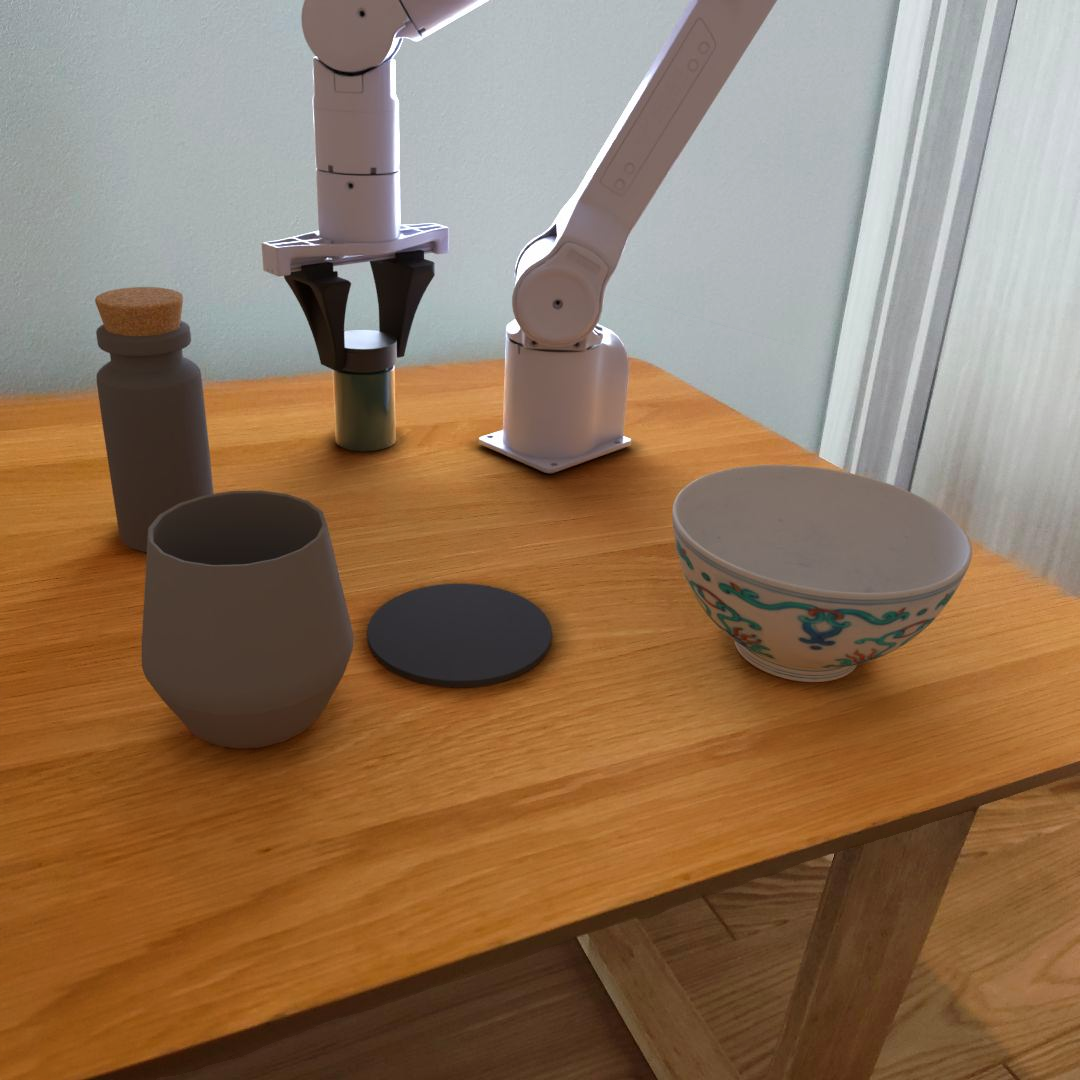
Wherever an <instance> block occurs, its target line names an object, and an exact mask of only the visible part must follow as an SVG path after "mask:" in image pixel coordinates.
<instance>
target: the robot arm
mask: <svg viewBox="0 0 1080 1080" xmlns="http://www.w3.org/2000/svg"><path fill="white" fill-rule="evenodd" d="M777 1H778V0H689V2H688V4H687V5H686V7H685V9H684V10H683V12H682V14H681V15H680V17H679V19H678V21H676V24H675V26H674V27H673V29H672V31H671V32H670V33H669V36H668V37H667V38H666V40H665V42H664V44H663V46H662V47H661V49H660V51H659V52H658V54H657V55H656V57H655V59H654V60H653V62H652V64H651V65H650V67H649V69H648V70H647V72H646V74H645V75H644V77H643V79H642V81H641V82H640V83H639V85H638V88H637V89H636V91H635V93H634V94H633V95H632V97H631V99H630V101H629V102H628V104H627V106H626V107H625V109H624V111H623V113H622V114H621V116H620V117H619V119H618V121H616V122H617V123H616V124H615V125H614V128H613V129H612V131H611V133H610V134H609V135H608V138H607V139H606V141H605V142H604V144H603V146H602V147H601V149H600V151H599V152H598V154H597V155H596V158H595V159H594V160H593V162H592V165H591V166H590V168H589V169H588V171H587V172H586V174H585V176H584V178H583V179H582V181H581V182H580V184H579V186H578V188H577V190H576V191H575V192H574V194H573V195H572V196H571V197H570V198H569V199H568V201H567V203H566V204H565V205H564V206H563V207H562V208H561V210H560V211H559V213H558V215H557V216H556V218H555V219H554V221H553V223H552V224H551V225H550V226H549V227H548V229H546V230H545V231H544V232H543V233H541V234H539V235H538V236H535V237H534V238H533V239H531V240H530V241H529V242H528V243H527V244H526V245H525V246H524V247H523V248H522V249H521V251H520V254H519V255H518V257H517V260H516V263H515V268H514V280H515V284H514V288H513V291H512V295H511V307H512V313H513V316H514V319H513V320H512V321H510V322H509V323H508V324H506V326H505V352H504V378H503V379H504V382H503V383H504V385H503V412H502V413H503V415H502V430H498V431H495V432H492V433H489V434H485V435H482V436H480V437H478V444H479V445H481V446H483V447H485V448H487V449H490V450H492V451H495V452H497V453H499V454H501V455H504V456H506V457H508V458H510V459H512V460H515V461H517V462H519V463H522V464H524V465H526V466H529V467H532V468H533V469H536V470H538V471H540V472H542V473H544V474H554V473H555V474H556V473H557V472H561V471H563V470H566V469H569V468H571V467H575V466H577V465H580V464H584V463H586V462H589V461H592V460H595V459H597V458H599V457H602V456H604V455H608V454H610V453H614V452H616V451H619V450H623V449H625V448H627V447H630V446H631V445H632V439H631V437H627V436H625V426H626V425H625V424H626V412H627V401H628V390H629V379H630V360H629V356H628V355H629V354H628V352H627V350H626V347H625V344H624V343H623V341H622V340H621V338H620V337H619V335H617V334H616V333H615V332H614V331H613V330H611V329H609V328H607V327H605V326H603V325H601V324H599V322H600V320H601V317H602V313H603V310H604V299H605V292H606V288H607V286H608V283H609V282H610V280H611V278H612V276H613V275H614V274H615V271H616V270H617V269H618V266H619V264H620V261H621V258H622V256H623V253H624V251H625V248H626V245H627V242H628V239H629V237H630V235H631V233H632V231H633V230H634V229H635V227H636V225H637V223H638V222H639V220H640V218H641V217H642V215H643V214H644V213H645V211H646V209H647V208H648V207H649V205H650V203H651V201H652V200H653V198H654V197H655V195H656V193H657V191H658V190H659V189H660V188H661V185H662V184H663V183H664V181H665V179H666V177H667V176H668V174H669V173H670V171H671V169H672V168H673V166H674V165H675V163H676V161H677V160H678V158H679V157H680V155H682V154H681V153H682V152H683V150H684V149H685V147H686V146H687V144H688V143H689V141H690V140H691V137H692V136H693V134H694V133H695V132H696V130H697V129H698V126H699V125H700V124H701V122H702V120H703V119H704V117H705V116H706V114H707V112H708V111H709V109H710V108H711V106H712V104H713V103H714V102H715V100H716V98H717V97H718V95H719V94H720V92H721V90H722V89H723V87H724V86H725V84H726V82H727V81H728V79H729V78H730V76H731V75H732V73H733V71H734V70H735V69H736V67H737V65H738V63H739V62H740V60H741V59H742V57H743V55H744V54H745V52H746V51H747V49H748V48H749V46H750V44H751V43H752V42H753V39H754V38H755V36H756V34H757V33H758V31H759V30H760V28H761V27H762V26H763V24H764V22H765V20H766V19H767V17H768V16H769V14H770V13H771V11H772V9H773V8H774V6H775V5H776V3H777ZM487 2H489V0H304V1H303V5H302V8H301V19H300V20H301V28H302V32H303V36H304V39H305V42H306V43H307V46H308V47H309V49H310V51H311V52H312V53H313V55H314V56H313V57H312V67H313V68H312V80H313V96H312V113H313V114H312V116H313V135H314V137H313V138H314V156H315V157H314V159H315V178H316V179H315V180H316V198H317V199H316V202H317V221H318V230H316V231H312V232H307V233H303V234H299V235H295V236H291V237H285V238H281V239H277V240H271V241H264V242H261V254H262V255H261V257H262V269H263V270H262V271H264V272H266V273H268V274H271V275H274V276H276V277H283V278H284V280H285V283H287V285H288V287H289V288H290V290H291V291H292V293H293V295H294V297H295V298H296V300H297V302H298V304H299V305H300V308H301V309H302V312H303V314H304V316H305V318H306V321H307V323H308V326H309V329H310V331H311V334H312V338H313V340H314V343H315V347H316V350H317V354H318V357H319V362H320V365H322V366H324V367H326V368H328V369H330V370H341V369H343V368H344V361H345V339H344V331H345V320H346V312H347V306H348V305H347V304H348V299H349V296H350V295H349V294H350V291H351V286H352V282H351V281H350V280H348V279H345V278H343V277H340V276H339V273H338V271H337V270H334V267H338V266H344V265H345V266H346V265H353V264H361V263H368V262H369V265H370V268H371V272H372V276H373V281H374V287H375V292H376V297H377V305H378V331H381V332H385V333H388V334H391V335H393V336H395V337H396V339H397V359H398V358H403V357H405V354H406V350H407V346H408V341H409V337H410V333H411V331H412V330H411V329H412V327H413V326H412V325H413V322H414V319H415V316H416V313H417V311H418V308H419V306H420V303H421V301H422V299H423V296H424V294H425V293H426V291H427V289H428V287H429V285H430V283H431V282H432V281H433V279H434V278H435V276H436V264H435V262H434V261H432V260H429V259H426V258H425V255H427V254H434V255H445V254H449V252H450V251H449V250H450V249H449V248H450V227H448V226H446V225H443V224H439V223H434V222H429V223H418V224H416V223H415V224H401V170H400V169H401V168H400V102H399V99H398V97H397V94H396V93H397V85H396V82H397V80H396V59H395V58H394V57H395V56H396V54H397V53H398V52H399V50H400V47H401V46H402V43H403V41H404V39H409V40H411V41H413V42H419V41H422V40H423V39H424V38H426V37H428V36H430V35H431V34H433V33H435V32H436V31H438V30H440V29H442V28H443V27H445V26H447V25H448V24H450V23H452V22H454V21H455V20H457V19H459V18H461V17H462V16H464V15H466V14H467V13H469V12H471V11H473V10H474V9H476V8H478V7H479V6H482V5H483V4H485V3H487Z"/></svg>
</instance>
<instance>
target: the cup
mask: <svg viewBox="0 0 1080 1080" xmlns="http://www.w3.org/2000/svg"><path fill="white" fill-rule="evenodd" d="M327 522H328V521H327V520H326V516H325V514H324V511H323V510H322V509H320V508H319V507H318V506H316V505H315V504H313V503H312V502H311V501H309V500H306V499H303V498H301V497H298V496H295V495H292V494H289V493H283V492H276V491H268V490H258V489H257V490H230V491H223V492H218V493H214V494H210V495H204V496H201V497H198V498H195V499H191V500H188V501H185V502H182V503H179V504H177V505H175V506H174V507H172V508H170V509H168V510H167V511H165V512H163V513H161V514H160V515H159V516H158V517H157V518H156V519H155V520H154V522H153V523H152V524H151V525H150V527H149V528H148V540H147V552H146V557H145V559H146V560H145V576H144V591H143V592H144V593H143V595H144V596H143V608H142V609H143V612H142V627H141V628H142V629H141V669H142V672H143V674H144V677H145V679H146V680H147V682H148V684H150V686H151V687H152V688H153V690H154V691H155V692H156V693H157V695H158V696H159V697H160V699H161V700H162V701H163V703H164V704H165V705H166V706H167V707H168V708H169V709H170V710H171V711H172V712H173V714H174V715H175V716H176V717H177V718H178V719H179V720H180V721H181V723H182V724H183V725H184V726H185V727H186V728H187V729H188V730H189V731H190V732H191V733H192V734H193V736H195V737H198V739H199V738H200V739H202V740H204V741H205V742H207V743H210V744H211V745H215V746H220V747H226V748H231V749H236V750H238V749H239V750H240V749H241V750H242V749H259V748H261V749H262V748H265V747H269V746H272V745H277V744H281V743H283V742H286V741H288V740H290V739H292V738H293V737H296V736H297V735H299V734H301V733H303V732H305V731H307V730H308V729H309V728H310V727H311V726H312V725H313V724H314V723H315V722H316V721H317V719H319V718H320V717H321V715H322V714H323V712H324V711H325V709H326V707H327V705H328V704H329V702H330V700H331V698H332V696H333V695H334V693H335V691H336V690H337V687H338V686H339V684H340V682H341V680H342V679H343V676H344V675H345V672H346V671H347V667H348V664H349V661H350V658H351V656H352V653H353V649H354V643H355V642H354V641H355V636H354V629H353V626H352V622H351V618H350V614H349V608H348V606H347V605H348V604H347V601H346V596H345V593H344V592H345V591H344V588H343V584H342V581H341V576H340V572H339V567H338V563H337V559H336V556H335V555H336V554H335V551H334V546H333V543H332V538H331V535H330V530H329V526H328V523H327Z"/></svg>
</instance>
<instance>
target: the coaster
mask: <svg viewBox="0 0 1080 1080" xmlns="http://www.w3.org/2000/svg"><path fill="white" fill-rule="evenodd" d="M366 639H367V641H366V642H367V646H368V648H369V650H370V653H371V654H372V656H373V657H374V658H375V659H376V661H378V663H380V664H381V665H382V666H383V667H384V668H386V669H387V670H389V671H391V672H392V673H394V674H395V675H398V676H400V677H402V678H405V679H408V680H411V681H413V682H416V683H421V684H424V685H428V686H429V685H430V686H437V687H444V688H476V687H484V686H491V685H495V684H499V683H503V682H506V681H509V680H512V679H515V678H517V677H520V676H522V675H524V674H525V673H527V672H529V671H531V670H533V669H534V668H535V667H536V666H538V665H539V664H540V663H541V662H542V661H543V660H544V658H546V656H547V654H548V653H549V651H550V648H551V646H552V639H553V631H552V625H551V623H550V619H549V618H548V617H547V615H546V613H545V612H544V611H543V610H542V609H541V608H540V607H539V606H537V605H536V604H535V603H534V602H532V601H531V600H529V599H527V598H526V597H523V596H521V595H519V594H517V593H514V592H512V591H509V590H506V589H503V588H499V587H495V586H490V585H483V584H477V583H475V584H474V583H442V584H433V585H428V586H423V587H422V586H421V587H420V588H415V589H411V590H408V591H406V592H404V593H403V592H402V593H401V594H399V595H397V596H394V597H393V598H391V599H389V600H388V601H386V602H384V603H383V604H382V605H381V606H379V608H377V610H376V611H375V612H374V613H373V614H372V616H371V617H370V619H369V621H368V624H367V628H366Z"/></svg>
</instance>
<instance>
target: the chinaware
mask: <svg viewBox="0 0 1080 1080" xmlns="http://www.w3.org/2000/svg"><path fill="white" fill-rule="evenodd" d="M671 515H672V529H673V535H674V537H673V538H674V542H675V547H676V552H677V557H678V560H679V564H680V567H681V569H682V573H683V575H684V578H685V580H686V583H687V584H688V587H689V589H690V591H691V593H692V594H693V596H694V598H695V600H696V601H697V602H698V604H699V606H700V607H701V608H702V610H703V611H704V612H705V614H706V615H707V616H708V617H709V618H710V619H711V621H712V622H713V623H714V624H715V625H716V626H717V627H718V628H719V629H720V630H721V631H722V632H724V633H725V634H726V635H728V637H729V638H731V639H732V640H733V641H734V645H735V648H736V649H737V651H738V653H739V654H740V656H742V658H744V660H746V661H747V662H748V663H750V664H751V665H752V666H754V667H755V668H757V669H759V670H761V671H763V672H765V673H767V674H769V675H772V676H774V677H778V678H781V679H785V680H788V681H789V680H790V681H795V682H801V683H802V682H803V683H822V682H823V683H824V682H830V681H835V680H838V679H841V678H844V677H846V676H848V675H849V674H850V673H852V672H853V671H854V670H855V669H856V668H857V666H858V665H862V664H865V663H869V662H871V661H874V660H877V659H879V658H882V657H885V656H887V655H888V654H891V653H893V652H895V651H896V650H898V649H900V648H901V647H903V646H905V645H907V644H908V643H909V642H911V641H912V640H913V639H915V638H916V637H918V636H919V635H920V634H921V633H922V632H923V631H924V630H926V628H928V627H929V626H930V625H931V624H932V623H933V622H934V620H935V619H936V618H937V617H938V616H939V615H940V613H941V612H942V611H943V610H944V608H946V607H947V605H948V603H949V602H950V601H951V599H952V598H953V597H954V595H955V593H956V591H957V589H959V587H960V584H961V582H962V581H963V579H964V577H965V575H966V573H967V570H968V569H969V567H970V564H971V561H972V557H973V546H972V542H971V540H970V537H969V535H968V533H967V532H966V530H965V529H964V528H963V527H962V525H961V524H960V523H959V522H958V521H957V519H955V518H954V517H953V516H952V515H950V514H949V513H947V512H946V511H945V510H943V509H942V508H941V507H940V506H938V505H936V504H934V503H933V502H932V501H929V500H927V499H926V498H923V497H922V496H920V495H918V494H916V493H913V492H911V491H909V490H906V489H904V488H901V487H899V486H896V485H893V484H892V483H891V484H890V483H888V482H884V481H881V480H878V479H875V478H871V477H868V476H864V475H860V474H855V473H852V472H846V471H842V470H835V469H831V468H823V467H817V466H807V465H796V464H795V465H794V464H758V465H757V464H756V465H747V466H745V465H744V466H738V467H737V466H736V467H731V468H727V469H722V470H717V471H715V472H711V473H709V474H705V475H703V476H700V477H698V478H697V479H694V480H693V481H691V482H689V483H688V484H686V486H684V487H683V488H682V489H681V490H680V491H679V493H678V494H677V496H676V497H675V499H674V502H673V505H672V514H671Z"/></svg>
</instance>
